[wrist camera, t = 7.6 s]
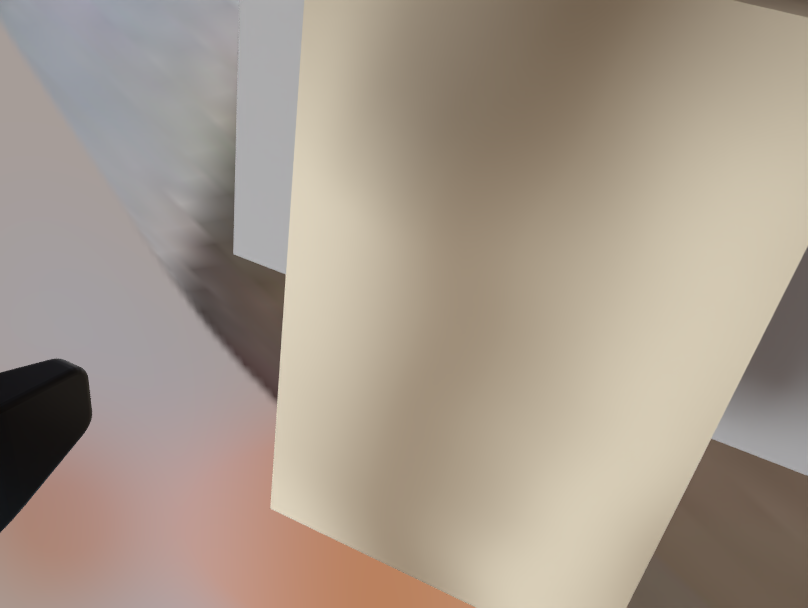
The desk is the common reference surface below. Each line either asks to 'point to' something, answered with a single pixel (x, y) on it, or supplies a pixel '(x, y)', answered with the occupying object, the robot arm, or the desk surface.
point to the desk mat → (270, 215)
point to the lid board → (529, 276)
